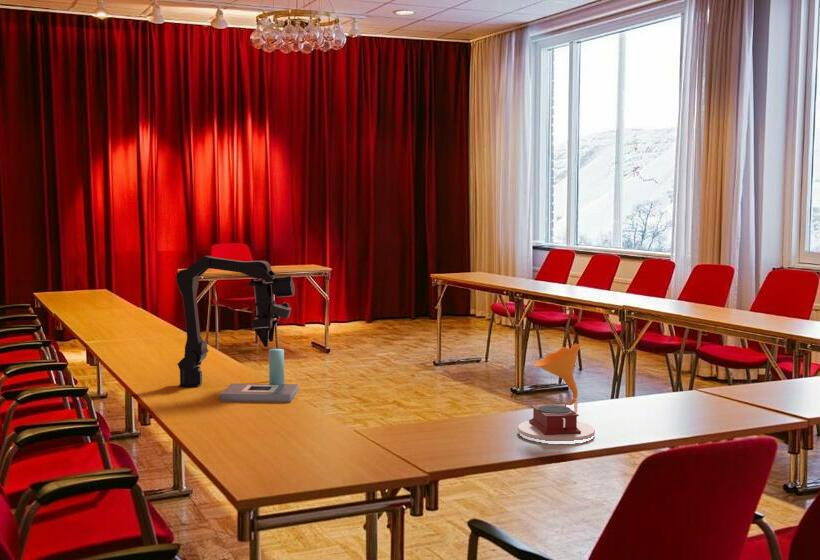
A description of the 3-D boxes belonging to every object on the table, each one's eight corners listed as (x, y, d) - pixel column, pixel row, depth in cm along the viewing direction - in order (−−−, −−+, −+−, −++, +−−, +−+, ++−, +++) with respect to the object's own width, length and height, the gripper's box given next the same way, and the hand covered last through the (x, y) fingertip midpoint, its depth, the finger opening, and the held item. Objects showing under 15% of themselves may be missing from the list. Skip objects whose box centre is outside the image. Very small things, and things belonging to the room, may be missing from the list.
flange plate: (220, 401, 282) (220, 393, 282) (231, 390, 298) (231, 382, 298) (290, 402, 282) (290, 393, 281) (298, 391, 298) (298, 383, 297)
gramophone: (578, 424, 256) (580, 336, 254) (606, 443, 236) (608, 348, 234) (508, 427, 253) (510, 338, 250) (531, 446, 233) (532, 350, 230)
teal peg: (267, 389, 300) (267, 351, 299) (270, 386, 305) (270, 348, 304) (282, 389, 300) (282, 351, 299) (285, 386, 305) (285, 348, 304)
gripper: (282, 300, 293) (287, 347, 295) (292, 292, 311) (297, 337, 313) (248, 303, 293) (254, 350, 295) (260, 295, 312) (265, 339, 314)
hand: (268, 344), depth 304 cm, fingers open, 9 cm apart
